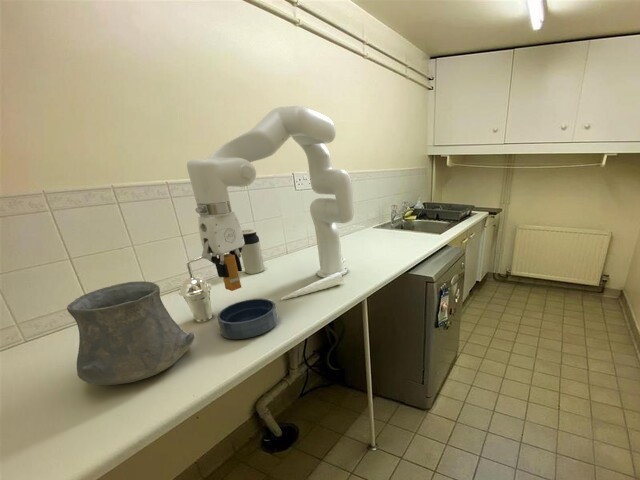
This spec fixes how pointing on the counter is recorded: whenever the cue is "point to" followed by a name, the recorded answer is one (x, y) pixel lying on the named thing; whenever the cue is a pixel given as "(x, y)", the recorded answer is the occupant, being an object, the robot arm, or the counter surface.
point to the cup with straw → (197, 295)
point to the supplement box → (231, 273)
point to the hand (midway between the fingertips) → (230, 273)
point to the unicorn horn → (318, 285)
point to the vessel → (125, 334)
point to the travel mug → (252, 252)
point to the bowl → (247, 318)
